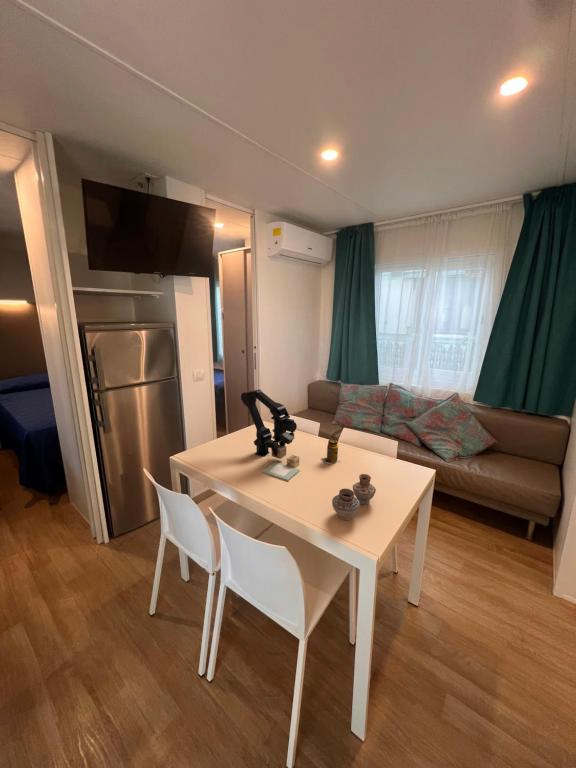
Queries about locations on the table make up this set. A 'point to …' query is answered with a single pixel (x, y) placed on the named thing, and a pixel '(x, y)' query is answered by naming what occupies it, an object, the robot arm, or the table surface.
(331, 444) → the condiment
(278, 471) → the base board
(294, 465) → the oak cube
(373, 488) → the pottery
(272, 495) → the table surface
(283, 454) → the walnut block
